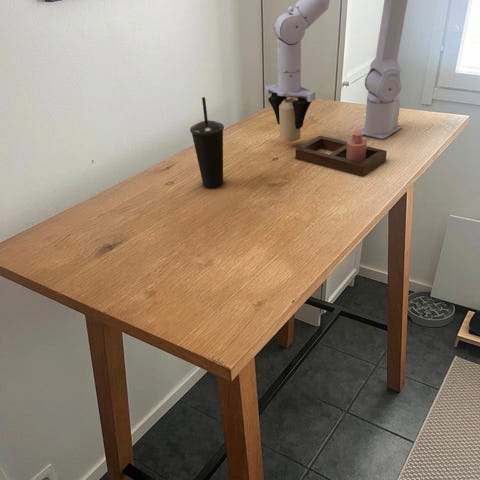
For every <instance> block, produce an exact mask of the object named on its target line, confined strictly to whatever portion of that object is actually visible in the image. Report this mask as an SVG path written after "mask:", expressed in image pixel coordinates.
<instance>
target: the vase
mask: <svg viewBox="0 0 480 480" xmlns="http://www.w3.org/2000/svg"><path fill="white" fill-rule="evenodd" d="M363 136H364V135H363V133H362V132H359V131H354V132H352V136H351V138H350V139H348V140H347V141H346V142H347V148H346V159H350V160H354V161H358V162H363V161H364V160H366V151H367V146H368V141H367V140H366V139H365V138H363Z"/></svg>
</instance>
